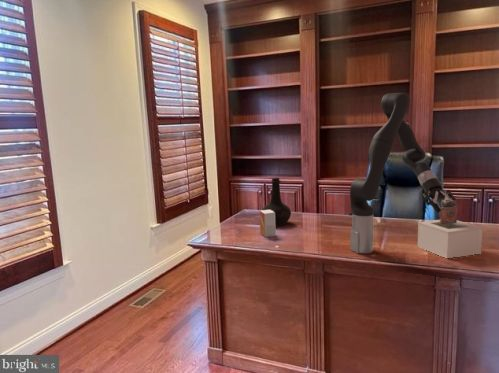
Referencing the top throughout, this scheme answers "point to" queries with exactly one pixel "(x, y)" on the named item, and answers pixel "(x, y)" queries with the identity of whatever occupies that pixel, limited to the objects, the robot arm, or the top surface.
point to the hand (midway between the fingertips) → (446, 211)
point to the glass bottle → (278, 204)
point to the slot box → (450, 238)
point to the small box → (267, 223)
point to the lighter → (448, 213)
